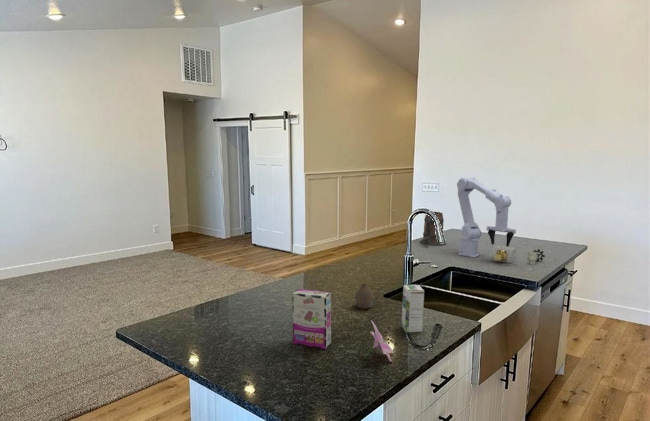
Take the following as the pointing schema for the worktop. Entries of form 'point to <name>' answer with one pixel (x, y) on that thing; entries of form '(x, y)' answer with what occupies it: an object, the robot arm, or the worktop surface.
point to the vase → (363, 297)
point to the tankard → (431, 230)
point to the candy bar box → (312, 318)
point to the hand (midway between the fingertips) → (500, 245)
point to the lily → (380, 343)
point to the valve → (534, 256)
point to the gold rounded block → (500, 255)
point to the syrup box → (412, 308)
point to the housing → (509, 252)
